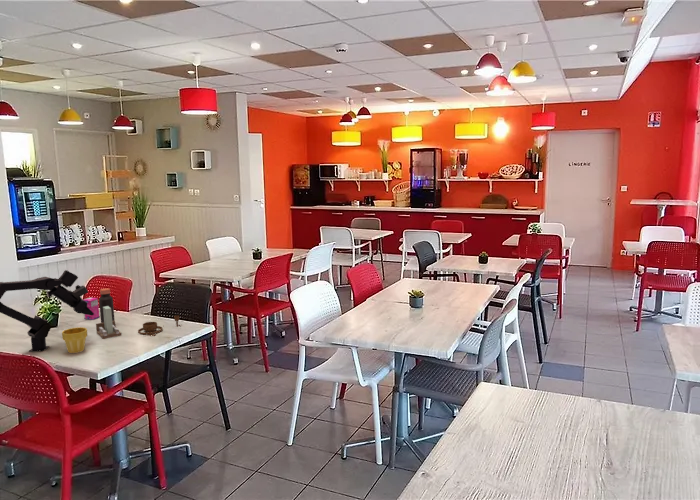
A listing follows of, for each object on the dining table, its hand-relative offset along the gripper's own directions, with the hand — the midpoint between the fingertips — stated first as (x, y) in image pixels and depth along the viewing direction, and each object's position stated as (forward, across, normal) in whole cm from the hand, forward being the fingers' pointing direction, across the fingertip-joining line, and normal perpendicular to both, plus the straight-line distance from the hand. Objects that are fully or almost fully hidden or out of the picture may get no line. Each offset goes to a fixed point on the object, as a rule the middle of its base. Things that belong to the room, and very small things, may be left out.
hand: (91, 312), depth 259 cm
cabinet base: (+14, 0, +4) cm, 15 cm away
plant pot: (+2, -16, +17) cm, 23 cm away
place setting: (+30, -10, -11) cm, 34 cm away
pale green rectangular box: (+14, 0, +3) cm, 14 cm away
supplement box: (+15, +39, +4) cm, 42 cm away
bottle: (+17, +18, +2) cm, 25 cm away
